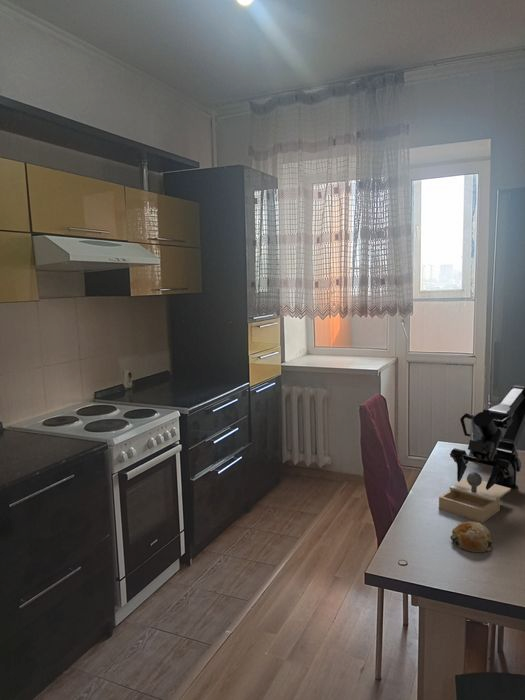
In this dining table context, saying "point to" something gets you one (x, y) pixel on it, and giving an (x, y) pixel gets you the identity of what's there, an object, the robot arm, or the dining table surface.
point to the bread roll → (472, 537)
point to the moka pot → (474, 429)
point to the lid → (479, 488)
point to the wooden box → (468, 506)
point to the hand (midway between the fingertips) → (472, 485)
